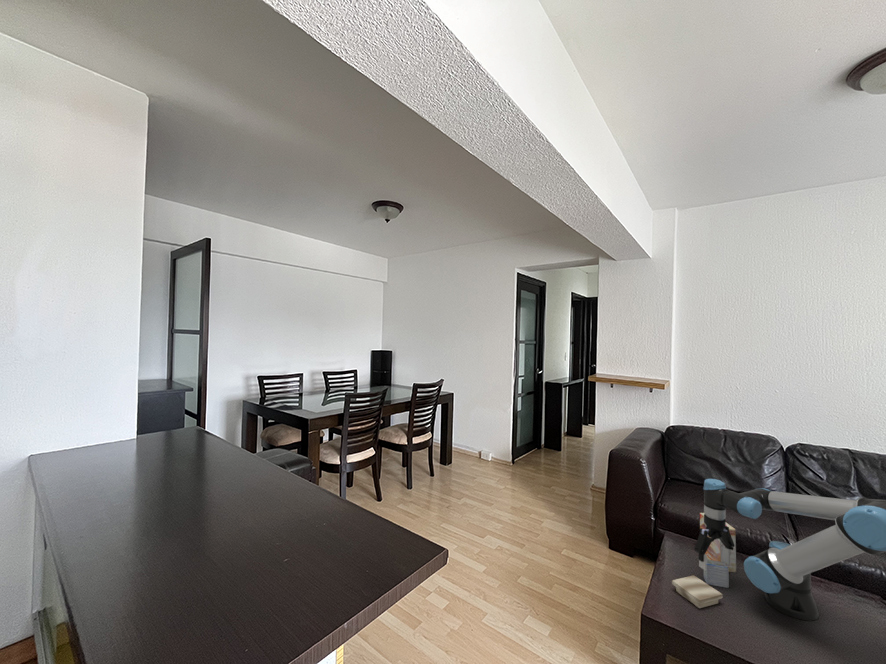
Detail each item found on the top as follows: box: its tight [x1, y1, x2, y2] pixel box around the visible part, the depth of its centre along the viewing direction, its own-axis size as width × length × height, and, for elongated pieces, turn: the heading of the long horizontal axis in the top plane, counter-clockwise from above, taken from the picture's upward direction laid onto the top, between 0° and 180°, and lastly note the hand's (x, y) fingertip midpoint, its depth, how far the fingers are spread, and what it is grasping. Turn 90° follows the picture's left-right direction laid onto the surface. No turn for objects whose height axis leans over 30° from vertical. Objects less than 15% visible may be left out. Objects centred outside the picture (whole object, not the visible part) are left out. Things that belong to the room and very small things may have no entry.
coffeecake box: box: [699, 512, 737, 573], centre depth 168 cm, size 15×7×20 cm, turn 174°
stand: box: [671, 574, 723, 609], centre depth 145 cm, size 12×12×4 cm
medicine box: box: [703, 559, 730, 589], centre depth 153 cm, size 8×4×9 cm, turn 71°
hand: (714, 565), depth 154 cm, fingers open, 13 cm apart
